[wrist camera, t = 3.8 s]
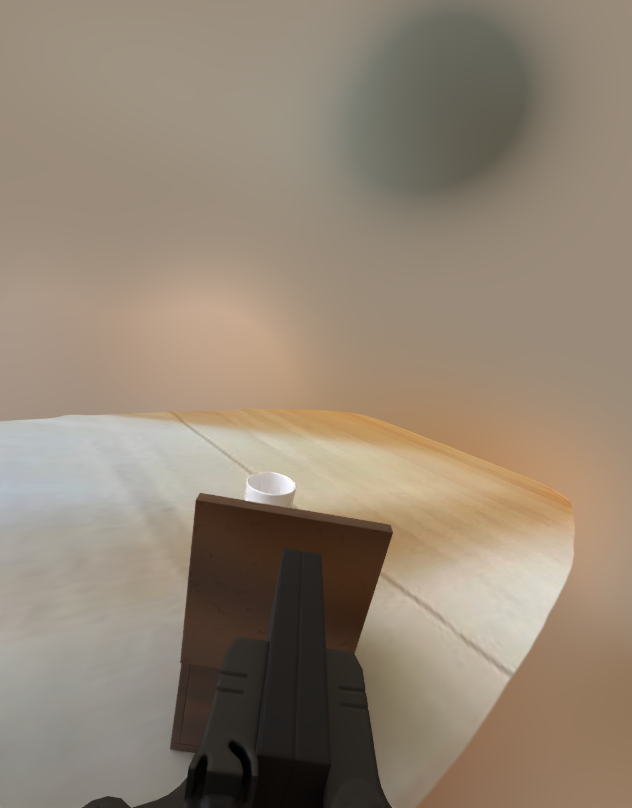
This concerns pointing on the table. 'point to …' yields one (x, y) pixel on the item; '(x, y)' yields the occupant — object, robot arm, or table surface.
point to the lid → (273, 572)
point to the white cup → (270, 489)
